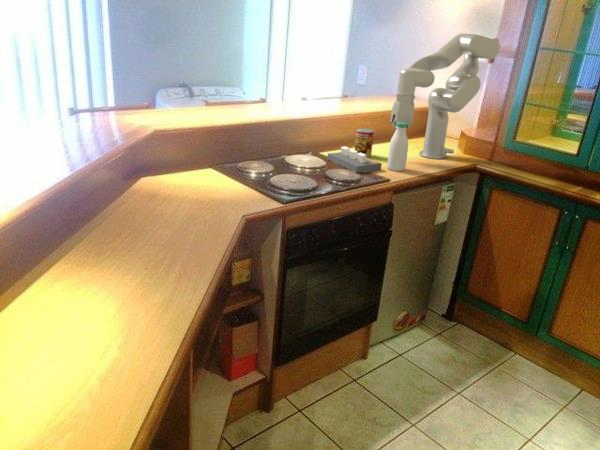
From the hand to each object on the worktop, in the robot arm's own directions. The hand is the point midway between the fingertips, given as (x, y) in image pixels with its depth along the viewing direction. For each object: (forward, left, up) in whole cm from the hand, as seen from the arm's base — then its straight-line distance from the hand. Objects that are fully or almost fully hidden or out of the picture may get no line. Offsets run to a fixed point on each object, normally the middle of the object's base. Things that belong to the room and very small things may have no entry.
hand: (399, 140), depth 222 cm
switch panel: (+21, +12, -9) cm, 27 cm away
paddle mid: (+21, +12, -6) cm, 26 cm away
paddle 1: (+24, +7, -6) cm, 26 cm away
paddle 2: (+18, +18, -6) cm, 26 cm away
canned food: (+15, -5, -10) cm, 19 cm away
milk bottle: (+3, +16, -10) cm, 19 cm away
